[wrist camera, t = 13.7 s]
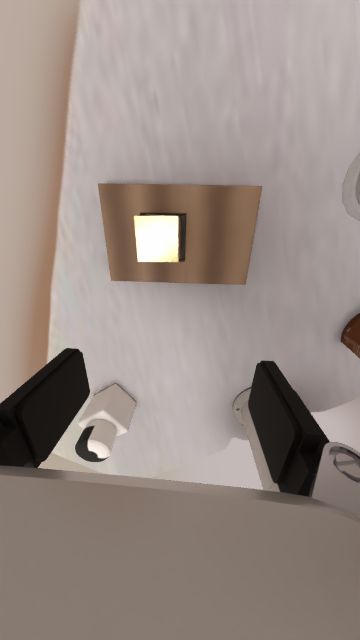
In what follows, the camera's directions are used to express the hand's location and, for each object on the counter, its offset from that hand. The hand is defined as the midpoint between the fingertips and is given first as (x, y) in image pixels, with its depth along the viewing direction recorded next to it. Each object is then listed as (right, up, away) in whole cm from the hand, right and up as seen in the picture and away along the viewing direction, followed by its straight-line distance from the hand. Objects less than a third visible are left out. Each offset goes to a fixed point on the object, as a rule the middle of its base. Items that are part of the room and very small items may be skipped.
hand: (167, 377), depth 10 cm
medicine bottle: (-14, -15, +33) cm, 39 cm away
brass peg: (-1, +15, +18) cm, 24 cm away
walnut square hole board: (+1, +15, +18) cm, 24 cm away
